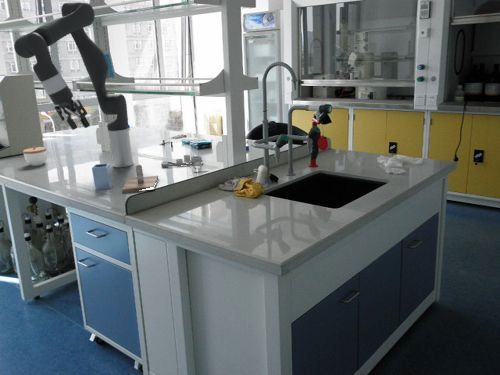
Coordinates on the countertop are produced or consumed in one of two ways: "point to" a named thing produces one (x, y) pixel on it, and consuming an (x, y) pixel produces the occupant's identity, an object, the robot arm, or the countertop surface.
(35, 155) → the lidded jar
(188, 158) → the pulley system
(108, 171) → the blue box
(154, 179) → the post base
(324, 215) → the countertop surface
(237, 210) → the countertop surface
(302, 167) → the countertop surface
